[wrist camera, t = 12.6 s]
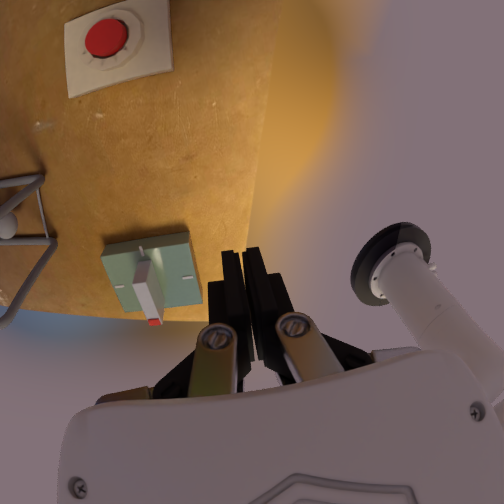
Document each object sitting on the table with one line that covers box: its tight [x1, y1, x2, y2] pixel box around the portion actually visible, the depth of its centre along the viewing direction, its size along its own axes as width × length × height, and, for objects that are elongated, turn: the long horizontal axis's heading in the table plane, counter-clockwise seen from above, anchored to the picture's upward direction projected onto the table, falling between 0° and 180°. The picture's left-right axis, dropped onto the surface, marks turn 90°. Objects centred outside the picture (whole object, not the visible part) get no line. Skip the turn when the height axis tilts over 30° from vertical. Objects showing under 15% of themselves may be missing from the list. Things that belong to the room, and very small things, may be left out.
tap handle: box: [132, 260, 165, 326], centre depth 32 cm, size 7×2×5 cm, turn 4°
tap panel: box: [100, 231, 203, 312], centre depth 35 cm, size 12×11×3 cm
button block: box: [64, 0, 174, 98], centre depth 18 cm, size 12×10×4 cm
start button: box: [85, 19, 127, 57], centre depth 16 cm, size 4×4×2 cm
